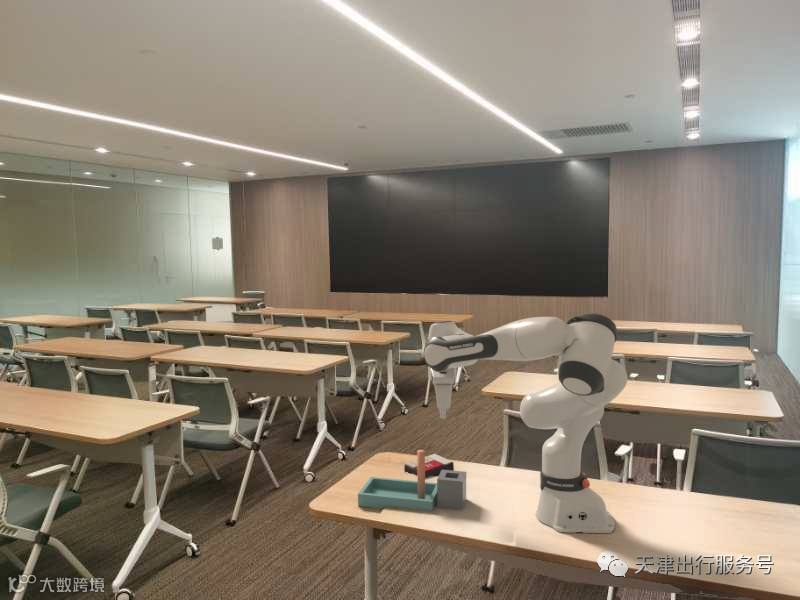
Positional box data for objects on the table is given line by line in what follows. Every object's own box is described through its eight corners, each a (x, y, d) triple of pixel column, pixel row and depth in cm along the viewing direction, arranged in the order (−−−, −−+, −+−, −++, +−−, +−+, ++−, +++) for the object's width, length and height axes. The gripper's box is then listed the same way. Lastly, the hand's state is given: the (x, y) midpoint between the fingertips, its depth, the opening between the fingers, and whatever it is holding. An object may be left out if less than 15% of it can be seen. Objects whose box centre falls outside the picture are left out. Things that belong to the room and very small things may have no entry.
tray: (440, 495, 183) (440, 483, 182) (432, 514, 169) (432, 501, 169) (371, 488, 189) (371, 476, 188) (358, 506, 175) (357, 493, 175)
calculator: (403, 462, 203) (434, 451, 212) (404, 474, 203) (435, 462, 212) (422, 472, 194) (454, 460, 203) (422, 483, 194) (454, 471, 203)
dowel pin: (424, 497, 178) (424, 449, 177) (425, 501, 176) (425, 452, 175) (417, 498, 178) (416, 450, 177) (418, 501, 176) (417, 452, 175)
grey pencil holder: (466, 501, 178) (466, 471, 177) (462, 513, 170) (462, 481, 169) (441, 499, 180) (441, 469, 179) (437, 510, 172) (437, 479, 171)
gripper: (431, 365, 182) (431, 406, 184) (433, 379, 162) (433, 425, 163) (450, 365, 182) (450, 406, 183) (454, 379, 162) (454, 425, 163)
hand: (442, 415), depth 173 cm, fingers open, 4 cm apart
